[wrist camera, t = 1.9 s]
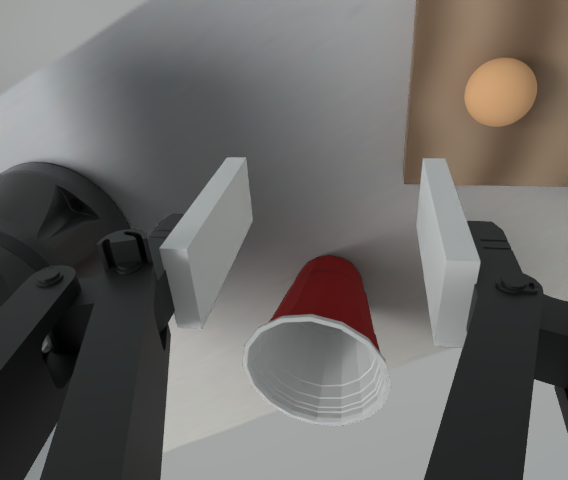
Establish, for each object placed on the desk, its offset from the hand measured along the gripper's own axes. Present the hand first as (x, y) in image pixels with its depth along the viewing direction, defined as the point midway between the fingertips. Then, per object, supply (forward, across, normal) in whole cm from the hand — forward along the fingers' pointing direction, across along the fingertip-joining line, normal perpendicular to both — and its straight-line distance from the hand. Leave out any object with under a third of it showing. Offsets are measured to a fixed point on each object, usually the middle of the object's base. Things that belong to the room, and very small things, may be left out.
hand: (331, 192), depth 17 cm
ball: (+14, -9, 0) cm, 17 cm away
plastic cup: (+19, +2, +18) cm, 26 cm away
